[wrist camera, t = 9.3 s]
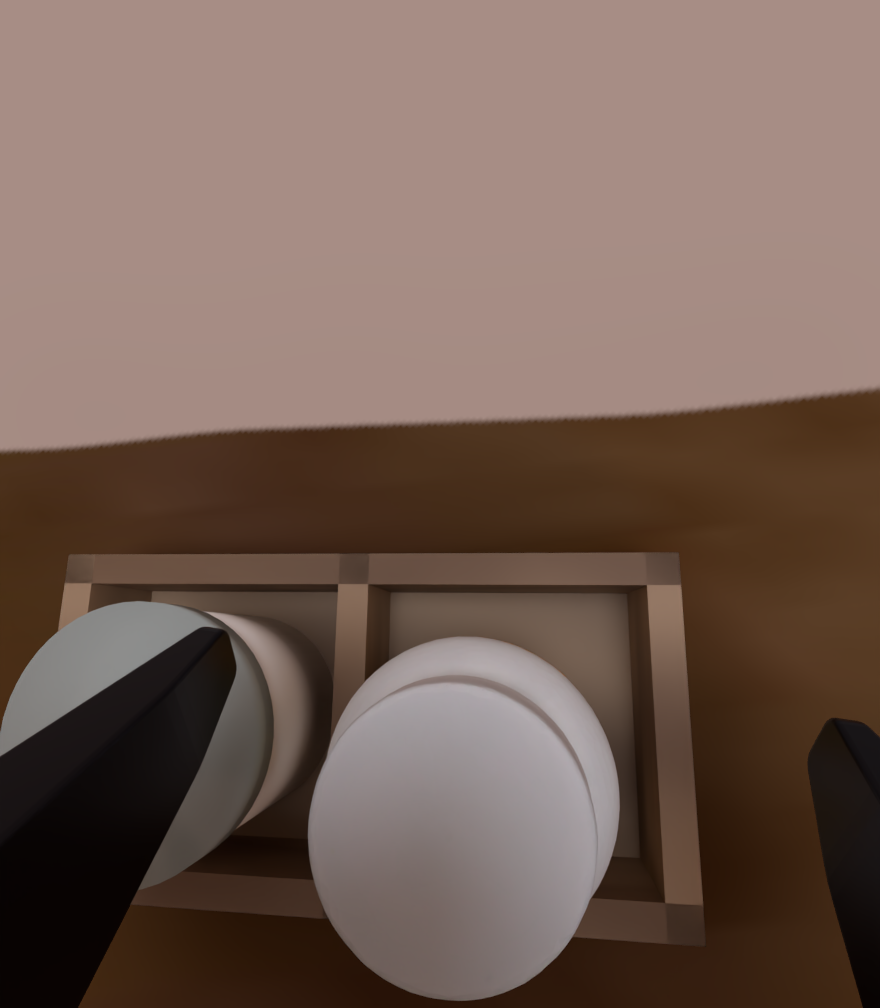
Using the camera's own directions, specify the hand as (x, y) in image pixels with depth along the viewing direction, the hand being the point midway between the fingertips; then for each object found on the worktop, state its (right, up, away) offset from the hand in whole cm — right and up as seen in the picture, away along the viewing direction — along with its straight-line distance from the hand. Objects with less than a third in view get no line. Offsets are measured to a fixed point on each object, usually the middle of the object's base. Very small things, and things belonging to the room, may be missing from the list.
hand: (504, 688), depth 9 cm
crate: (-3, -3, +9) cm, 10 cm away
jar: (-7, -3, +9) cm, 12 cm away
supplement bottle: (0, -4, +8) cm, 9 cm away
